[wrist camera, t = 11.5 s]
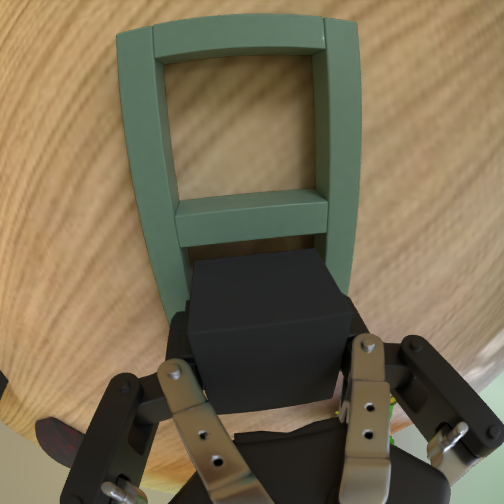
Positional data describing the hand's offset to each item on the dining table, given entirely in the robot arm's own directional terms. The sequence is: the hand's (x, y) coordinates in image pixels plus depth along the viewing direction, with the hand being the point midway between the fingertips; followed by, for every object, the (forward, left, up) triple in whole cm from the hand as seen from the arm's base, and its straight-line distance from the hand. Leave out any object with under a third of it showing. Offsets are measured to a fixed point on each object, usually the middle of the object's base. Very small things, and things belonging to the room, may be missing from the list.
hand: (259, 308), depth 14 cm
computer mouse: (-23, -24, -3) cm, 33 cm away
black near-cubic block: (0, 0, -1) cm, 1 cm away
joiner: (0, +4, -3) cm, 5 cm away
